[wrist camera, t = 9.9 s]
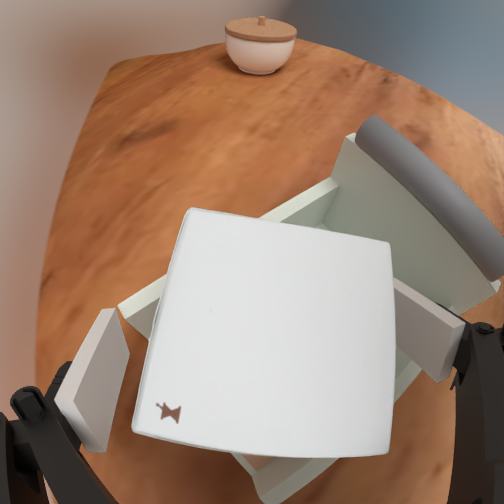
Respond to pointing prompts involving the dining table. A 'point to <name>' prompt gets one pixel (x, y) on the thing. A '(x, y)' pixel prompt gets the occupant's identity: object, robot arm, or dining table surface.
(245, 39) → the lidded jar
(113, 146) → the dining table surface
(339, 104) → the dining table surface
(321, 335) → the supplement box
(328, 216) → the tray
